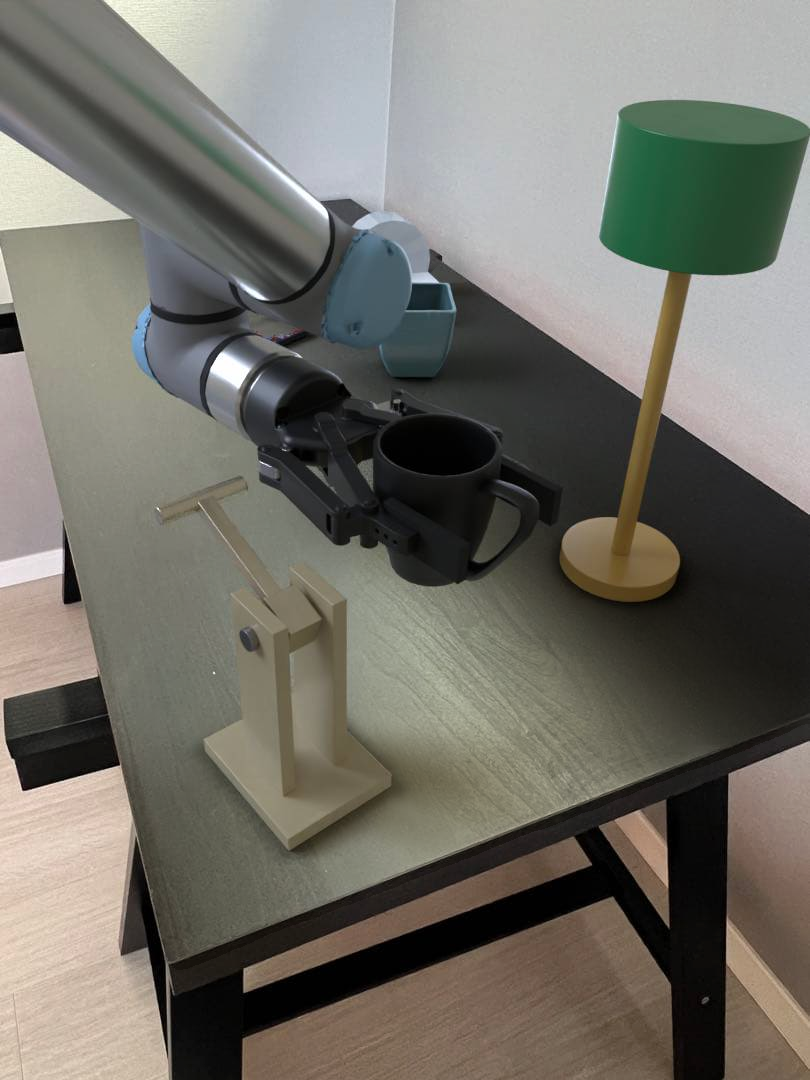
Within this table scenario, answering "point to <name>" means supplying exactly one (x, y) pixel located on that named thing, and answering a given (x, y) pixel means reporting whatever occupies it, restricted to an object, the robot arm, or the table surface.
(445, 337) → the flower pot
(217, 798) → the table surface
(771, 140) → the lamp
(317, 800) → the beige wooden upright stand
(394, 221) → the tape dispenser
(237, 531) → the switch
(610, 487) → the table surface
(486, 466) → the mug
